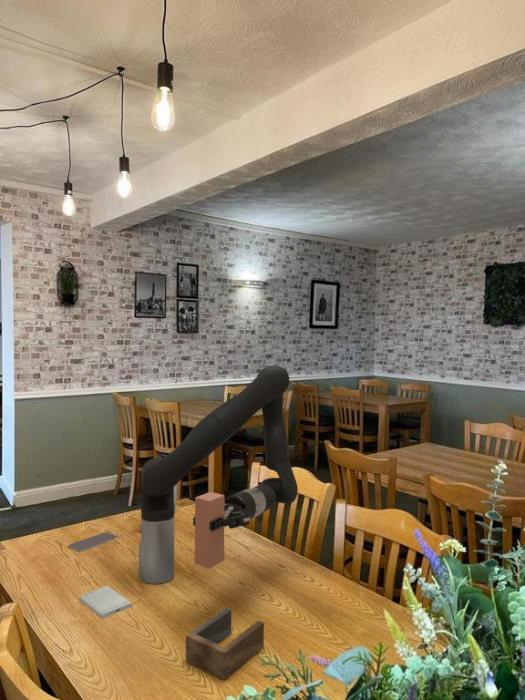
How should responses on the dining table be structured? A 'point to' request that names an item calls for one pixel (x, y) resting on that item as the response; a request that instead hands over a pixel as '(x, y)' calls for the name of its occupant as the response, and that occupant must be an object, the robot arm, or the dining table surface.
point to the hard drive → (105, 602)
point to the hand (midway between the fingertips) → (202, 524)
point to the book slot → (216, 657)
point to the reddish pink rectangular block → (207, 541)
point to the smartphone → (92, 542)
